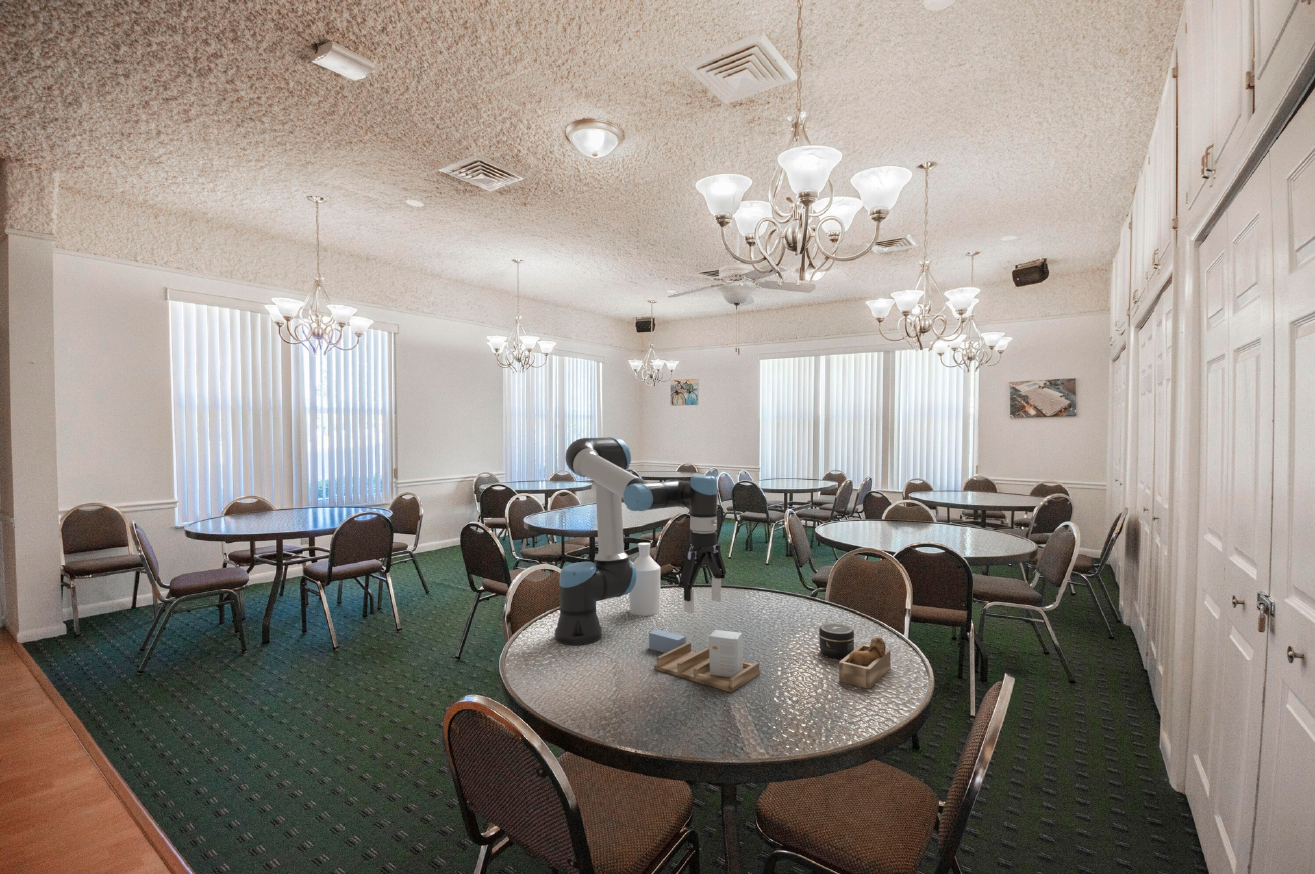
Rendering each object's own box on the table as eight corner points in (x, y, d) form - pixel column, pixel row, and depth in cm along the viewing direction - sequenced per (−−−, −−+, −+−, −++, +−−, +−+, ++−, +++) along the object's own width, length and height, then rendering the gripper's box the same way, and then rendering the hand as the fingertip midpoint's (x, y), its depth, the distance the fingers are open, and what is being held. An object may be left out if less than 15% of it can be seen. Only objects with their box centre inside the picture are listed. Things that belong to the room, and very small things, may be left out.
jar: (813, 654, 175) (812, 628, 174) (828, 645, 182) (828, 620, 182) (845, 663, 168) (844, 636, 168) (860, 653, 175) (859, 627, 175)
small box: (743, 671, 160) (743, 632, 160) (738, 679, 155) (738, 639, 155) (714, 667, 163) (714, 629, 163) (709, 674, 158) (708, 635, 158)
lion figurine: (874, 665, 165) (874, 633, 165) (891, 671, 161) (891, 638, 161) (838, 677, 157) (838, 643, 157) (855, 684, 153) (854, 649, 153)
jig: (654, 668, 165) (654, 656, 165) (685, 653, 176) (685, 641, 176) (731, 692, 149) (731, 678, 149) (760, 673, 161) (760, 660, 161)
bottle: (622, 610, 220) (621, 543, 220) (646, 604, 228) (645, 539, 228) (643, 617, 211) (642, 548, 211) (667, 610, 219) (666, 543, 219)
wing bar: (678, 657, 174) (677, 640, 174) (649, 649, 181) (649, 632, 181) (686, 653, 177) (685, 636, 177) (657, 645, 184) (657, 629, 184)
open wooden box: (839, 681, 155) (839, 662, 155) (861, 661, 169) (861, 643, 169) (869, 688, 150) (869, 669, 150) (890, 667, 164) (890, 649, 164)
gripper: (688, 539, 153) (688, 620, 154) (738, 526, 173) (737, 598, 173) (665, 535, 158) (665, 614, 158) (716, 523, 178) (716, 593, 178)
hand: (703, 606), depth 166 cm, fingers open, 13 cm apart
